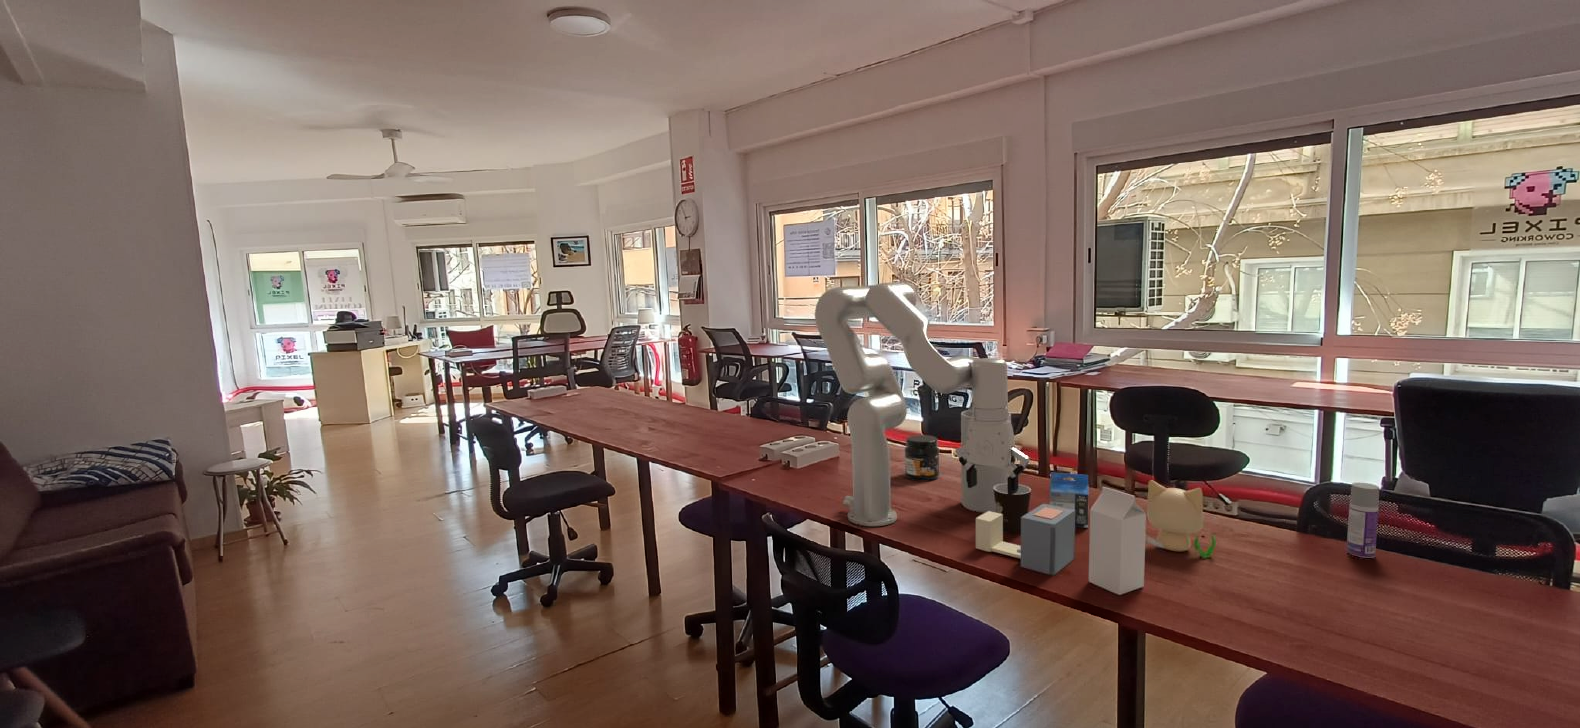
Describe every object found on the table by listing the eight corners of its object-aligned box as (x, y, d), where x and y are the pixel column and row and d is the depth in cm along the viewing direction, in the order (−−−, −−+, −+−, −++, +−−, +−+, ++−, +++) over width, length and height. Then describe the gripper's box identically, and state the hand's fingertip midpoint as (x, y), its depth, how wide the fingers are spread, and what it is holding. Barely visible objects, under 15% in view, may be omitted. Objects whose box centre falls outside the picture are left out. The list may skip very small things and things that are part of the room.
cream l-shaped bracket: (975, 548, 157) (975, 518, 156) (988, 540, 161) (988, 511, 160) (1051, 568, 145) (1051, 536, 144) (1062, 559, 149) (1063, 527, 148)
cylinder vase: (1015, 502, 187) (1016, 411, 184) (1002, 517, 177) (1003, 420, 173) (970, 496, 194) (969, 407, 191) (954, 509, 183) (954, 416, 180)
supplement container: (904, 481, 209) (904, 442, 208) (904, 471, 220) (904, 434, 218) (940, 482, 208) (940, 442, 206) (938, 472, 218) (938, 434, 216)
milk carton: (1119, 596, 132) (1122, 499, 130) (1088, 582, 139) (1090, 489, 136) (1144, 587, 136) (1147, 493, 133) (1112, 574, 142) (1114, 483, 139)
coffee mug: (1033, 536, 163) (1033, 494, 162) (994, 534, 165) (995, 493, 164) (1026, 519, 175) (1026, 480, 173) (990, 517, 176) (991, 479, 175)
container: (1370, 552, 148) (1375, 483, 146) (1378, 560, 144) (1383, 490, 142) (1343, 549, 150) (1348, 481, 148) (1350, 557, 146) (1354, 487, 144)
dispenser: (1015, 565, 148) (1015, 515, 146) (1037, 549, 156) (1038, 501, 154) (1053, 575, 142) (1054, 523, 141) (1074, 558, 150) (1075, 509, 149)
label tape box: (1049, 525, 170) (1049, 476, 168) (1049, 519, 174) (1050, 471, 172) (1088, 529, 167) (1089, 479, 165) (1087, 523, 170) (1088, 474, 169)
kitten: (1220, 550, 152) (1223, 483, 150) (1209, 565, 144) (1212, 495, 142) (1146, 535, 162) (1148, 472, 160) (1132, 548, 154) (1134, 482, 153)
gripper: (946, 414, 157) (949, 488, 159) (1020, 421, 145) (1021, 501, 147) (963, 408, 162) (965, 480, 164) (1035, 415, 150) (1036, 492, 152)
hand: (992, 489), depth 155 cm, fingers open, 9 cm apart
